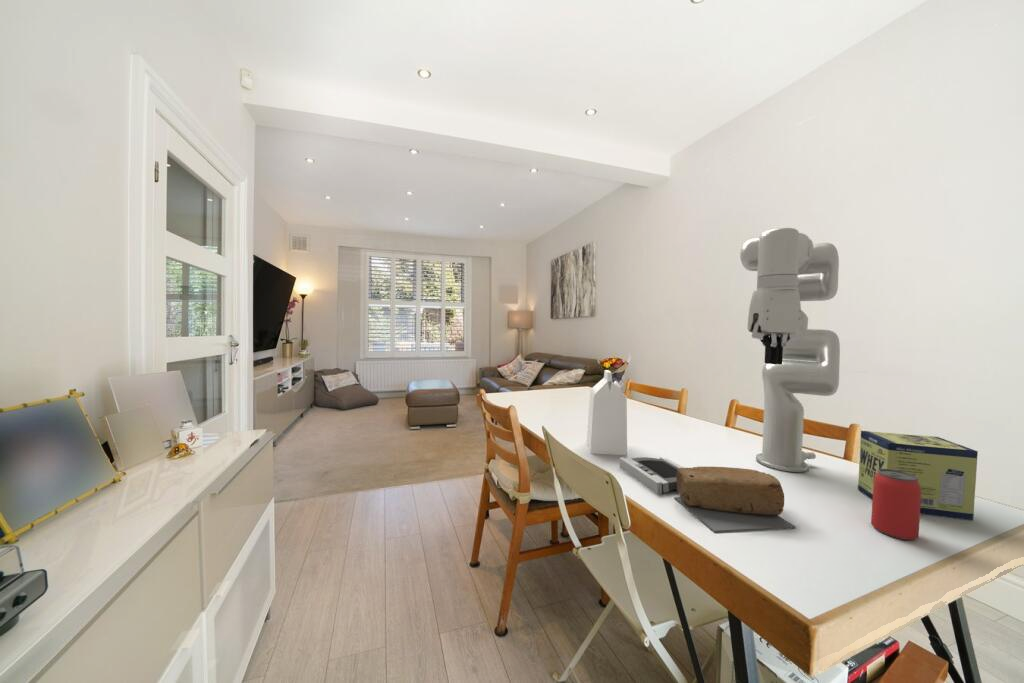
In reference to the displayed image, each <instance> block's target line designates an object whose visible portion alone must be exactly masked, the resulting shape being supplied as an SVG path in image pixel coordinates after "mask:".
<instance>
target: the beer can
mask: <svg viewBox="0 0 1024 683" xmlns="http://www.w3.org/2000/svg"><path fill="white" fill-rule="evenodd" d="M871 503H872V505H871V520H870V521H871V522H870V524H871V526H873V528H874V529H876V530H877V531H878V532H880V533H882V534H885V535H887V536H889V537H891V538H892V537H893V538H895V539H899V540H905V541H913V540H917V539H918V538H919V535H920V534H919V533H920V522H921V521H920V518H921V514H920V507H921V487H920V484H919V482H918V478H917V477H916V476H914V475H912V474H909V473H906V472H902V471H898V470H892V469H878V473H877V474H876V475H875V477H874V484H873V500H872V502H871Z"/></svg>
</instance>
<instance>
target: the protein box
mask: <svg viewBox="0 0 1024 683" xmlns="http://www.w3.org/2000/svg"><path fill="white" fill-rule="evenodd" d="M859 444H860V445H859V463H858V485H857V490H858V491H859V492H861V493H862V494H863V495H864V496H866V497H868V498H869V499H871V500H872V501H873V484H874V477H875V475H876V474H877V473H878V469H892V470H898V471H902V472H906V473H909V474H912V475H914V476H916V477H917V478H918V482H919V484H920V487H921V507H920V515H928V516H934V517H935V516H936V517H941V518H942V517H944V518H950V519H956V520H957V519H958V520H963V521H965V520H966V521H974V515H975V514H974V513H975V512H974V511H975V499H976V498H975V496H976V485H977V484H976V483H977V482H976V481H977V466H978V455H979V454H978V452H979V451H978V450H975V449H972V448H970V447H967V446H964V445H962V444H958V443H956V442H953V441H950V440H948V439H945V438H941V437H939V436H930V435H921V434H920V435H917V434H907V433H906V434H904V433H895V432H893V433H892V432H891V433H890V432H880V431H868V430H861V431H860V442H859Z"/></svg>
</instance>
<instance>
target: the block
mask: <svg viewBox="0 0 1024 683" xmlns="http://www.w3.org/2000/svg"><path fill="white" fill-rule="evenodd" d="M676 480H677V489H676V491H677V493H678V494H679V497H681V499H682V500H683V501H684V502H685V503H686V504H687V505H689V506H698V507H703V508H705V509H711V510H713V509H714V510H720V511H729V512H739V513H749V514H763V515H778V516H780V515H781V514H782V513H783V511H784V506H785V493H784V489H783V487H782V484H781V482H780V480H779V479H777V477H776V476H774V475H771V474H770V473H766V472H762V471H759V470H755V469H751V468H750V469H749V468H742V467H741V468H740V467H731V466H730V467H728V466H693V467H683V468H679V469H677V475H676Z"/></svg>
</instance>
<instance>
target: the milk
mask: <svg viewBox="0 0 1024 683" xmlns="http://www.w3.org/2000/svg"><path fill="white" fill-rule="evenodd" d="M621 388H622V386H621V385H620V384H619V382H618V381H617V380H615V381H614V382H613V374H612V371H610V369H605V370H604V373H603V378H602V379H600V380H599V381H598V382H597V383H596V384H595V385H594V386H593V387H592V388H591V389H590V391H589V400H588V416H587V430H586V443H587V444H586V445H587V447H588V450H589V453H590V454H597V455H598V454H599V455H616V456H617V455H619V456H628V412H627V411H628V408H627V406H628V404H627V403H628V400H627V395H626V394H625V392H623V391H622V390H621Z"/></svg>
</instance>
